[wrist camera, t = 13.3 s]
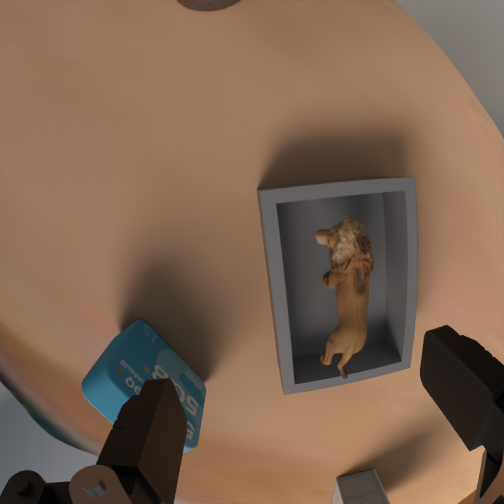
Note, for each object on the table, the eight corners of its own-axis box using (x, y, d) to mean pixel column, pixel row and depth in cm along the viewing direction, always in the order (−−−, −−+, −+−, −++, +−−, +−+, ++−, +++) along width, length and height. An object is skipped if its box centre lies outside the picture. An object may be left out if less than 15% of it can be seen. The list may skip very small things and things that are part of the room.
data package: (208, 384, 36) (197, 454, 25) (182, 399, 37) (165, 467, 25) (141, 314, 34) (101, 370, 22) (117, 333, 35) (74, 389, 23)
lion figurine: (305, 244, 34) (316, 211, 25) (352, 239, 34) (377, 207, 25) (320, 381, 30) (338, 396, 21) (369, 373, 30) (402, 383, 21)
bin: (256, 189, 31) (259, 191, 25) (387, 176, 31) (414, 176, 25) (278, 364, 36) (283, 394, 30) (389, 343, 36) (410, 367, 30)
